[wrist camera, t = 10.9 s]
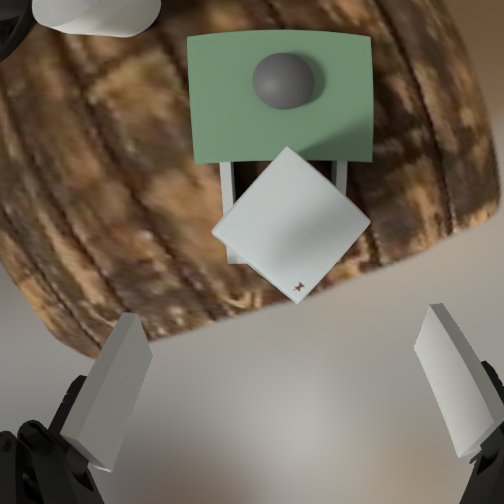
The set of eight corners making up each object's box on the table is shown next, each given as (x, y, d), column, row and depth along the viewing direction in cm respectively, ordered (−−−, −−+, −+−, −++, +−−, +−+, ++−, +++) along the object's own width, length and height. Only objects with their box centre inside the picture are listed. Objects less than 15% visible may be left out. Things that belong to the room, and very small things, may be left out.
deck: (197, 45, 24) (183, 34, 19) (357, 44, 23) (374, 34, 18) (213, 253, 34) (205, 277, 29) (352, 250, 33) (364, 273, 28)
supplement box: (334, 209, 30) (376, 224, 17) (287, 262, 31) (297, 310, 19) (280, 161, 29) (288, 141, 17) (232, 216, 30) (207, 234, 18)
